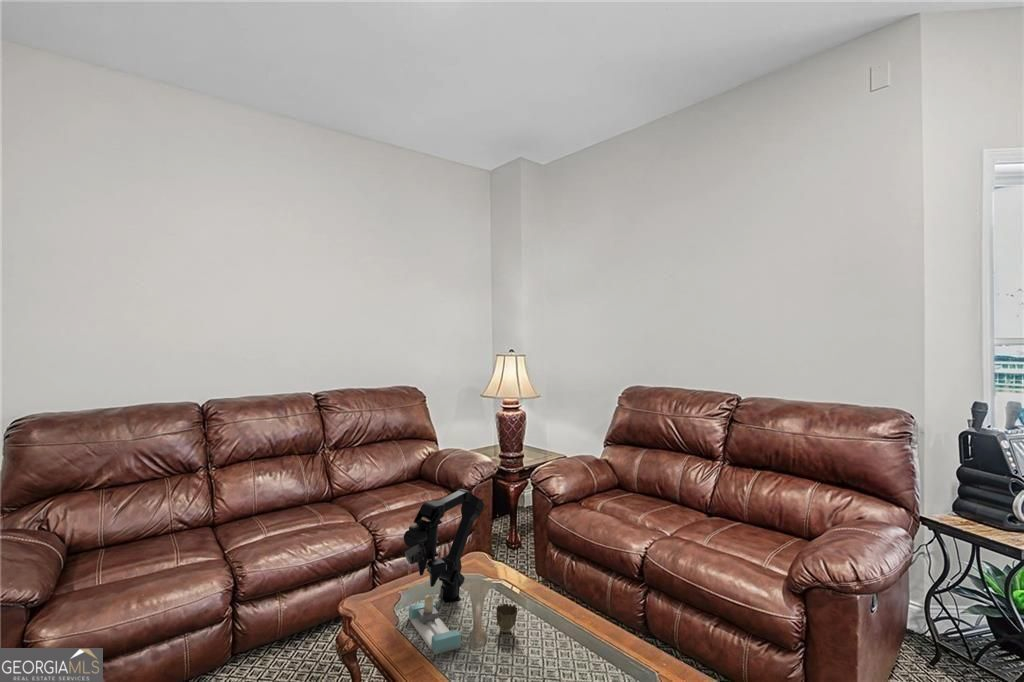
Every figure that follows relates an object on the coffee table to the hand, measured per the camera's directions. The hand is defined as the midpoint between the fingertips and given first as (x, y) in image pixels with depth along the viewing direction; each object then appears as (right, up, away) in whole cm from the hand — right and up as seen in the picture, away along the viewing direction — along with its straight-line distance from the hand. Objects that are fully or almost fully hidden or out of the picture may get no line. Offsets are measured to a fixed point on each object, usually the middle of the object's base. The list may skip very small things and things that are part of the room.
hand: (426, 580), depth 190 cm
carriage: (+1, -10, -7) cm, 13 cm away
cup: (+29, -14, -7) cm, 33 cm away
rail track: (+4, -12, -11) cm, 17 cm away
